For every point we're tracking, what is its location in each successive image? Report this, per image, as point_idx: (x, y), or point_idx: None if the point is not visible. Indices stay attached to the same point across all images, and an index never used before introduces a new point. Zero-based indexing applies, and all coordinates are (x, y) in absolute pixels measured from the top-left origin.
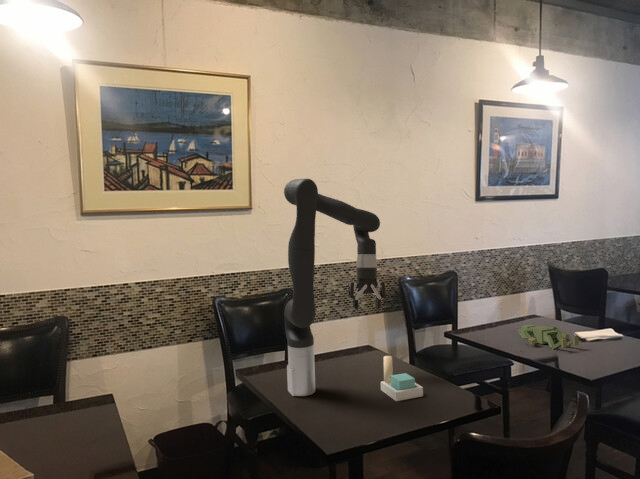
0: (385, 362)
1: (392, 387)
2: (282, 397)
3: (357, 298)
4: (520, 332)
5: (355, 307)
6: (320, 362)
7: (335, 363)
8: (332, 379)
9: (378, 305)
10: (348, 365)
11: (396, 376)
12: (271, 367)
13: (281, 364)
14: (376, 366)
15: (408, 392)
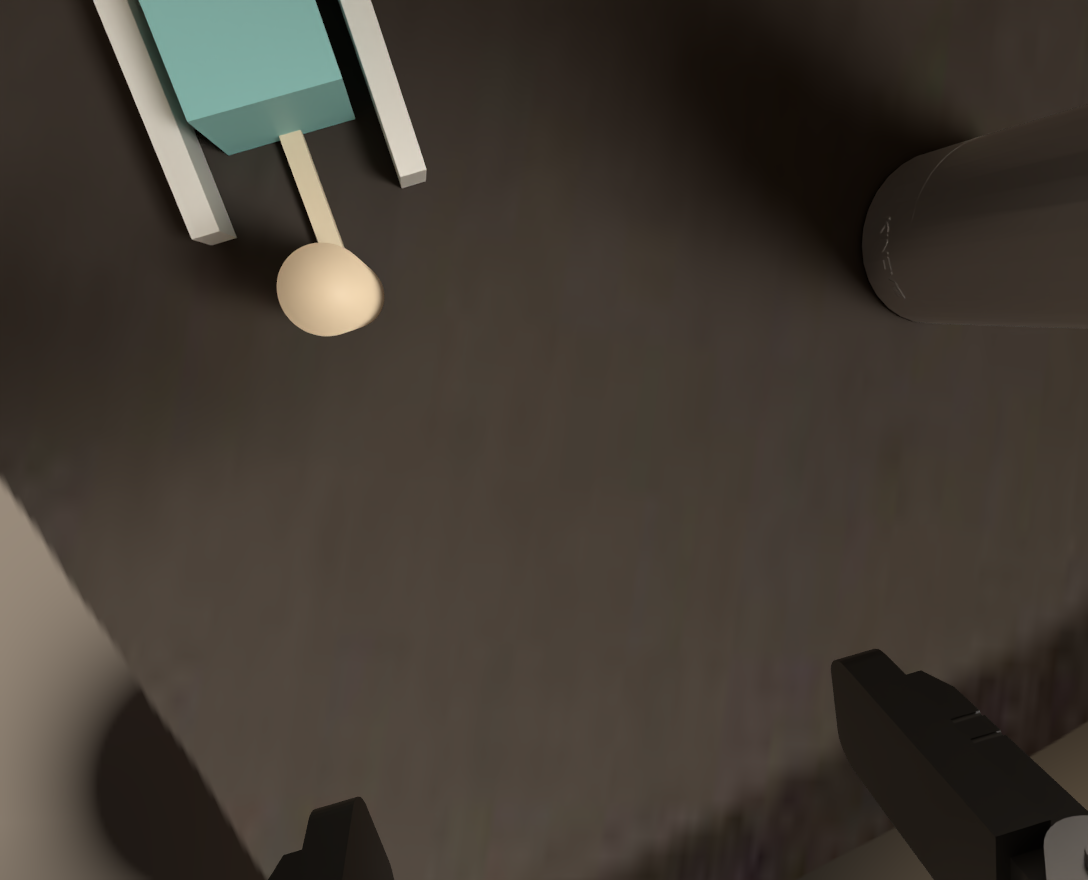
0: (359, 259)
1: (348, 18)
2: None
3: (1070, 872)
4: None
5: (924, 689)
6: (766, 757)
7: (672, 734)
8: (729, 432)
9: (322, 872)
10: (590, 692)
11: (291, 45)
12: (1057, 679)
13: None
14: (390, 661)
15: None
